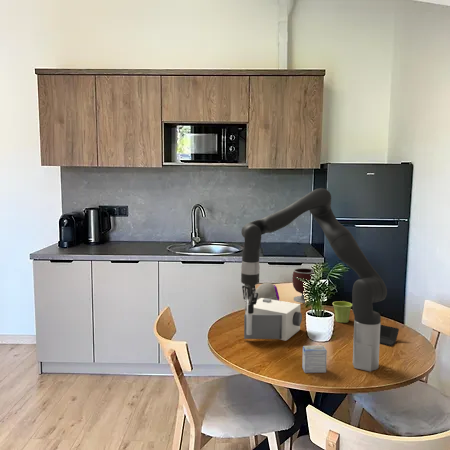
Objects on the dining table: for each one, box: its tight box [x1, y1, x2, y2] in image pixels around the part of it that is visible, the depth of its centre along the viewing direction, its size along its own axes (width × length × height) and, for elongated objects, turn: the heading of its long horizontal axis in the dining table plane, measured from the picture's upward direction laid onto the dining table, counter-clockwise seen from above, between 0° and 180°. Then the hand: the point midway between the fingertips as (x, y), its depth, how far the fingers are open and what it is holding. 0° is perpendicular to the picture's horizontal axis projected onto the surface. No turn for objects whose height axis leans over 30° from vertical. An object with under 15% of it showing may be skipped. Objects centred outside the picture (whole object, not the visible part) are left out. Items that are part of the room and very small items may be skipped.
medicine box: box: [301, 345, 328, 374], centre depth 157 cm, size 8×4×9 cm, turn 92°
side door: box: [243, 299, 282, 340], centre depth 183 cm, size 5×16×18 cm, turn 89°
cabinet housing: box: [244, 298, 303, 342], centre depth 196 cm, size 16×22×13 cm
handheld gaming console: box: [380, 324, 400, 348], centre depth 186 cm, size 12×7×10 cm
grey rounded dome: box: [256, 282, 280, 301], centre depth 225 cm, size 13×13×15 cm
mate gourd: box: [292, 267, 314, 304], centre depth 245 cm, size 16×14×20 cm
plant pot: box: [332, 300, 353, 324], centre depth 210 cm, size 9×9×9 cm
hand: (249, 311), depth 181 cm, fingers closed on side door, 2 cm apart
